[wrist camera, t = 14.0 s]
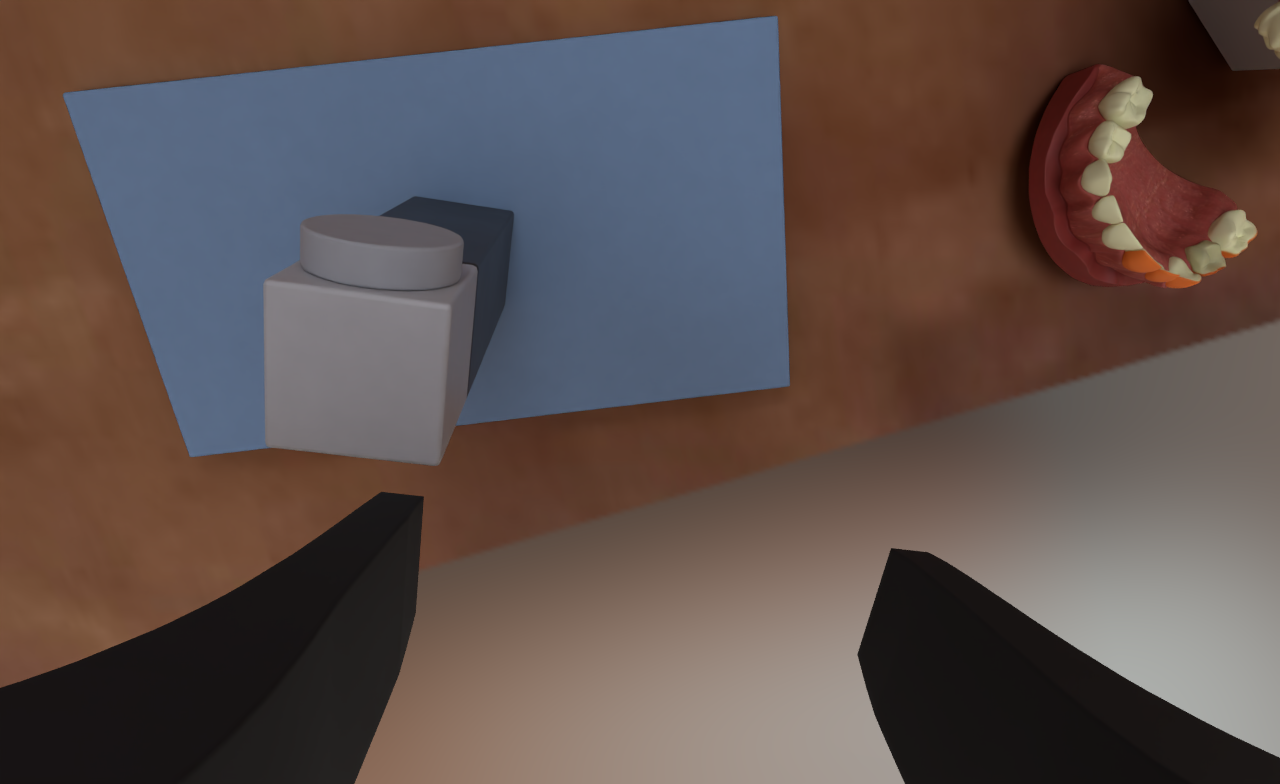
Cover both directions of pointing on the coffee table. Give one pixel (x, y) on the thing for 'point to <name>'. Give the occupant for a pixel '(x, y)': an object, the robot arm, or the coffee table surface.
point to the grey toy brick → (383, 328)
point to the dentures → (1126, 188)
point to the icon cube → (1237, 31)
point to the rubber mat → (477, 175)
